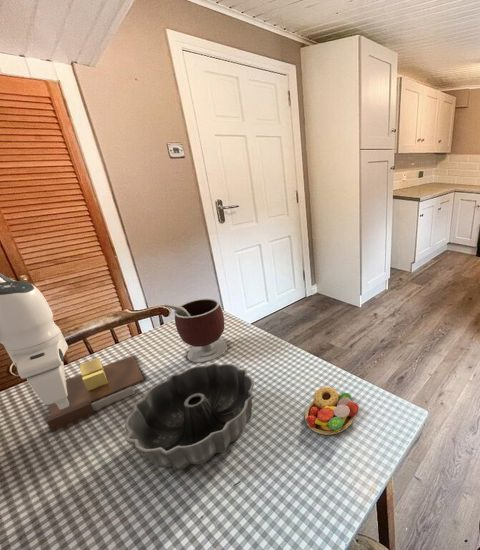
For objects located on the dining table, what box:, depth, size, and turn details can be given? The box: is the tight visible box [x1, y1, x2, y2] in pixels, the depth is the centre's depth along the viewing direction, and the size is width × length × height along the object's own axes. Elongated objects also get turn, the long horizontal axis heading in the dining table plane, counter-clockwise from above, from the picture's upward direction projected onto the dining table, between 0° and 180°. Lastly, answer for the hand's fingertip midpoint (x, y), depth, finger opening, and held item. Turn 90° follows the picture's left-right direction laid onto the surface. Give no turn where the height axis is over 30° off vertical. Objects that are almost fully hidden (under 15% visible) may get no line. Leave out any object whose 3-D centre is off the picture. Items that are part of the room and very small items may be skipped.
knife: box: [46, 385, 136, 432], centre depth 79 cm, size 17×2×4 cm, turn 135°
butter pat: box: [82, 370, 108, 391], centre depth 86 cm, size 4×2×4 cm, turn 135°
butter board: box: [49, 355, 145, 416], centre depth 88 cm, size 20×16×5 cm
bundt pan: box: [124, 362, 255, 471], centre depth 72 cm, size 26×26×10 cm
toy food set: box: [304, 386, 360, 436], centre depth 78 cm, size 13×13×3 cm
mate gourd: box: [164, 298, 228, 363], centre depth 100 cm, size 16×14×20 cm
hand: (63, 396), depth 74 cm, fingers open, 8 cm apart
